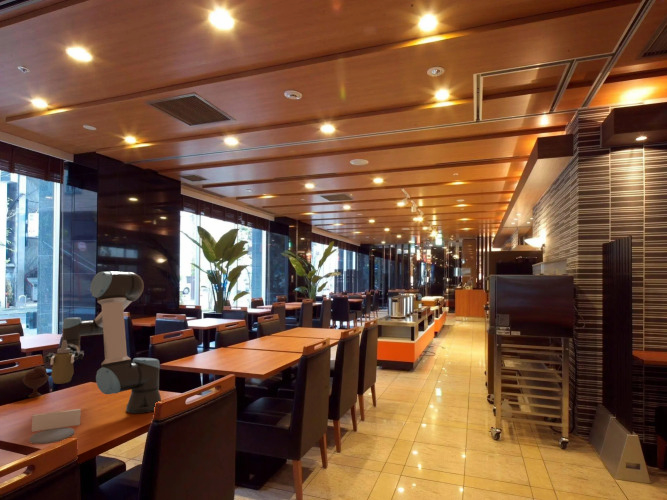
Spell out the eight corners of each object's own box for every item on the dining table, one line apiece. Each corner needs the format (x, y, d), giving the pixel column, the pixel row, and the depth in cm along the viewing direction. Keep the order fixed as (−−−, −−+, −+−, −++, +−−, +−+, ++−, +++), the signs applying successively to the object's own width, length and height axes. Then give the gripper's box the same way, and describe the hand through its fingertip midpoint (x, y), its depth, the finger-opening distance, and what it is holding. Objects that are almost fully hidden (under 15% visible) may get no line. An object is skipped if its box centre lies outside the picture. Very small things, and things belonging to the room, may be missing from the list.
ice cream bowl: (43, 391, 215) (45, 363, 216) (50, 395, 208) (52, 366, 209) (19, 396, 207) (21, 366, 208) (25, 400, 200) (27, 369, 201)
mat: (82, 433, 156) (82, 430, 156) (44, 446, 143) (44, 443, 143) (59, 427, 161) (59, 425, 161) (21, 439, 149) (21, 437, 149)
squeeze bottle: (54, 385, 166) (57, 341, 168) (47, 382, 171) (50, 340, 173) (76, 381, 173) (78, 339, 174) (69, 379, 178) (71, 338, 179)
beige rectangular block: (80, 423, 166) (80, 408, 167) (79, 424, 164) (80, 409, 165) (32, 429, 159) (33, 414, 159) (31, 431, 157) (32, 415, 158)
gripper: (91, 358, 193) (88, 367, 172) (42, 362, 184) (33, 372, 163) (92, 343, 193) (89, 349, 173) (43, 346, 184) (34, 353, 164)
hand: (61, 360), depth 168 cm, fingers closed on squeeze bottle, 6 cm apart
